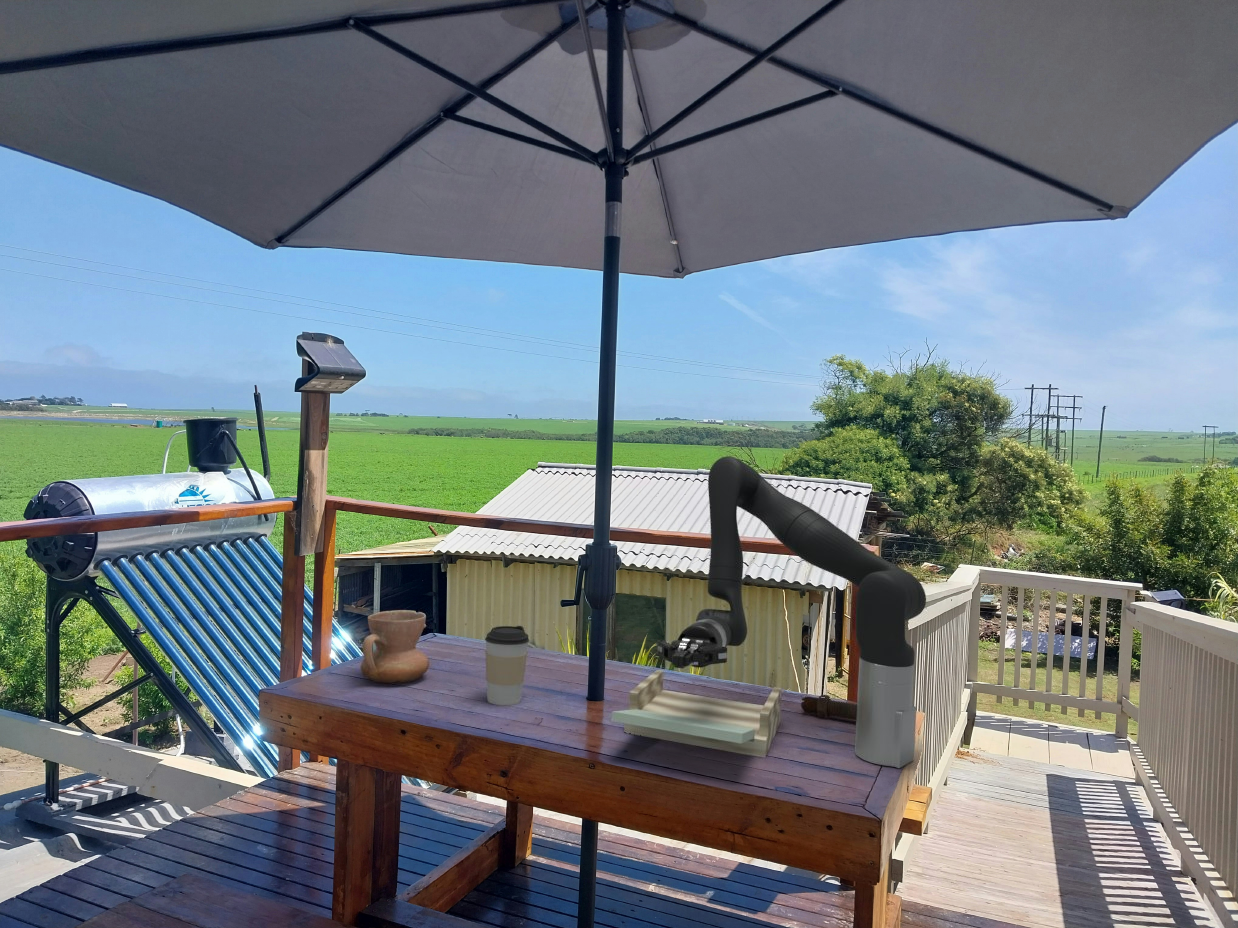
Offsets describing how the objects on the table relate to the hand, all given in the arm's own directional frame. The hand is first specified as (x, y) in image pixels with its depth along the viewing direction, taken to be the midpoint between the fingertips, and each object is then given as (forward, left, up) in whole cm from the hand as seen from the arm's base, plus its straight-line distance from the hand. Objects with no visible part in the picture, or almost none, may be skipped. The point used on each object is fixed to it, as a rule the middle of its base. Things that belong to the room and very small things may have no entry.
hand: (679, 661), depth 121 cm
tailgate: (+6, -13, -15) cm, 21 cm away
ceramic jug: (+72, +10, -18) cm, 76 cm away
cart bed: (+10, -22, -18) cm, 30 cm away
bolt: (-3, -49, -19) cm, 52 cm away
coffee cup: (+46, -1, -18) cm, 50 cm away
